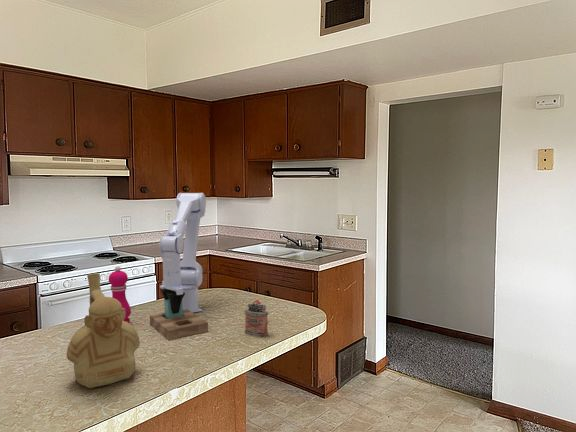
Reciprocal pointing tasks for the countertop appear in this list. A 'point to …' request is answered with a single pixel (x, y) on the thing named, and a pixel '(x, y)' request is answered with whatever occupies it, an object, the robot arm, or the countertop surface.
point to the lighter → (256, 320)
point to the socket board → (179, 325)
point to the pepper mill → (120, 289)
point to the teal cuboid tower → (169, 313)
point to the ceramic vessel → (103, 341)
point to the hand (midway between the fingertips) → (173, 311)
